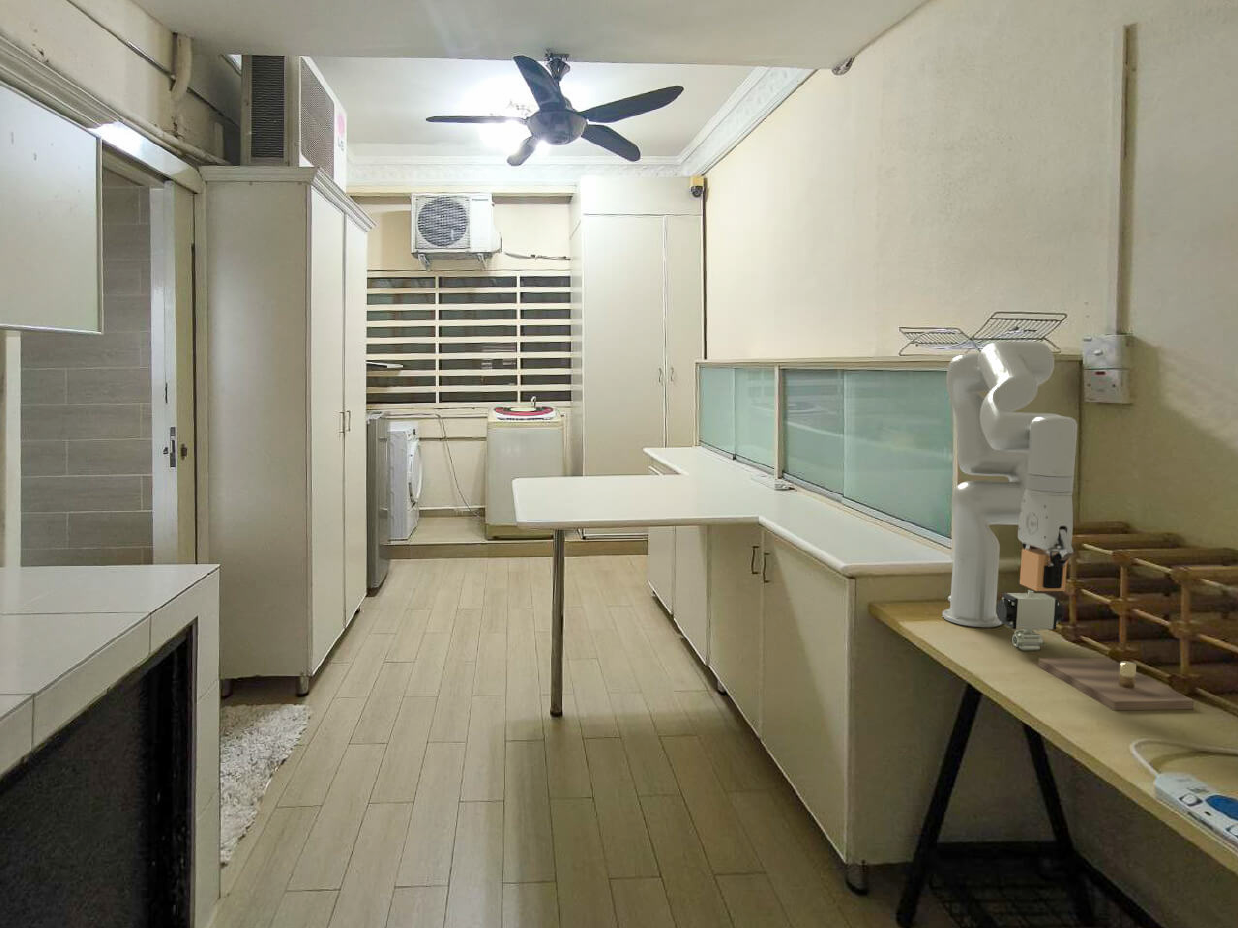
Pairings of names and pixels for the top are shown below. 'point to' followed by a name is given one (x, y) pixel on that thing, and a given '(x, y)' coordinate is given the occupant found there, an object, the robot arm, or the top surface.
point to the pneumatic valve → (1029, 616)
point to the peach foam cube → (1037, 570)
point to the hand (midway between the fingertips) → (1042, 582)
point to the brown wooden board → (1115, 684)
